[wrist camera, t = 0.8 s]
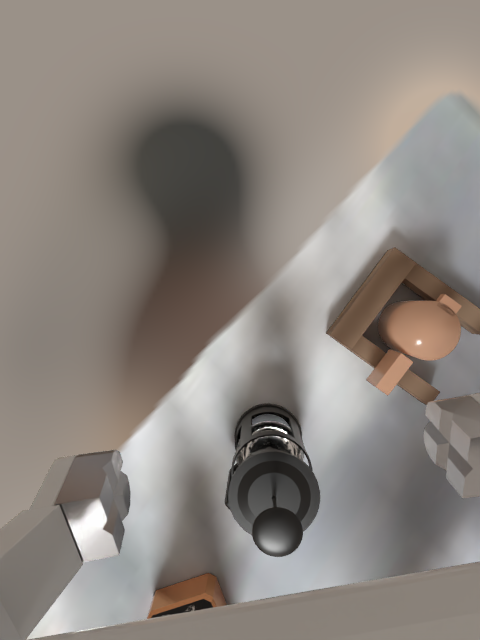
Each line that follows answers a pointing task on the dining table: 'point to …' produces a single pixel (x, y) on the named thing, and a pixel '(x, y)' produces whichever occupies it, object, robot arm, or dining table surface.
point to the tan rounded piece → (414, 336)
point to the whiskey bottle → (187, 597)
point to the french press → (272, 481)
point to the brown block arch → (373, 299)
